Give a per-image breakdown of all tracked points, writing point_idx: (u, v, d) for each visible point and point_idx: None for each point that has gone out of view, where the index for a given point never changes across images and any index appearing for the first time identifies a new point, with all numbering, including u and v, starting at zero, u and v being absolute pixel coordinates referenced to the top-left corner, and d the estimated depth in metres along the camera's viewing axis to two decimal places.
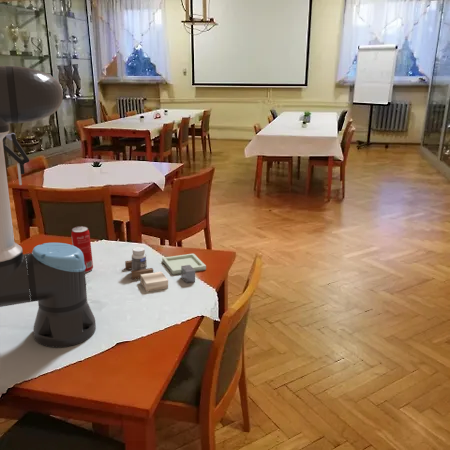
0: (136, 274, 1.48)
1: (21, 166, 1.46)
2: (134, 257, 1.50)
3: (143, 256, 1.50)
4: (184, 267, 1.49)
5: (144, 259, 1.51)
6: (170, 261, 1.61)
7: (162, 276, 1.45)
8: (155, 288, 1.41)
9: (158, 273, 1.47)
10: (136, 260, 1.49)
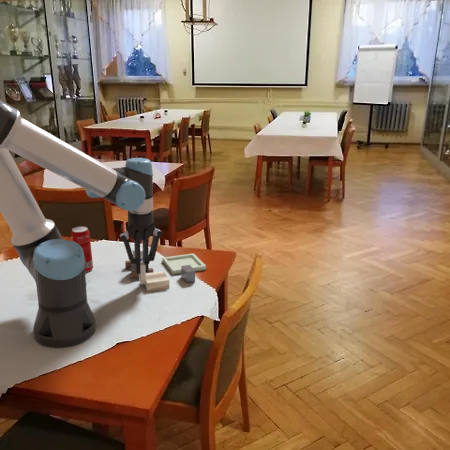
0: (136, 274, 1.48)
1: (146, 265, 1.41)
2: (134, 257, 1.50)
3: None
4: (184, 267, 1.49)
5: None
6: (170, 261, 1.61)
7: (164, 276, 1.45)
8: (156, 287, 1.42)
9: (160, 273, 1.47)
10: None
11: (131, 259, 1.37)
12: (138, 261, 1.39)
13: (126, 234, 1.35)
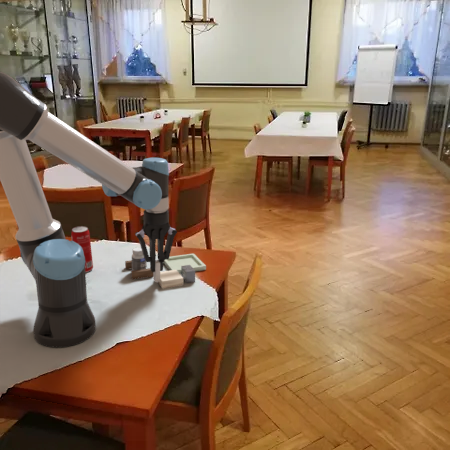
0: (136, 274, 1.48)
1: (160, 263, 1.43)
2: (134, 257, 1.50)
3: (143, 256, 1.50)
4: (184, 267, 1.49)
5: (144, 259, 1.51)
6: (170, 261, 1.61)
7: (177, 274, 1.47)
8: (171, 286, 1.44)
9: (173, 271, 1.49)
10: (136, 260, 1.49)
11: (146, 257, 1.39)
12: (153, 259, 1.41)
13: (142, 233, 1.37)
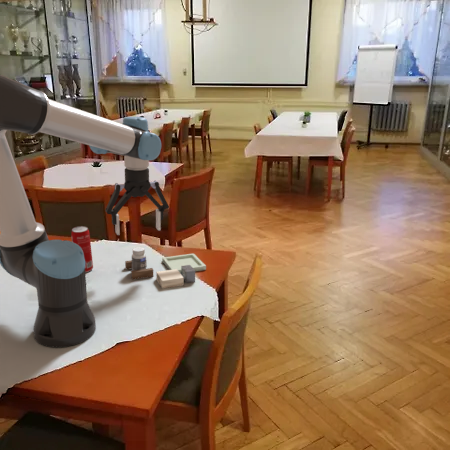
0: (136, 274, 1.48)
1: (161, 212, 1.49)
2: (134, 257, 1.50)
3: (143, 256, 1.50)
4: (184, 267, 1.49)
5: (144, 259, 1.51)
6: (170, 261, 1.61)
7: (178, 273, 1.47)
8: (171, 285, 1.44)
9: (174, 270, 1.49)
10: (136, 260, 1.49)
11: (109, 209, 1.41)
12: (115, 212, 1.42)
13: (122, 186, 1.41)
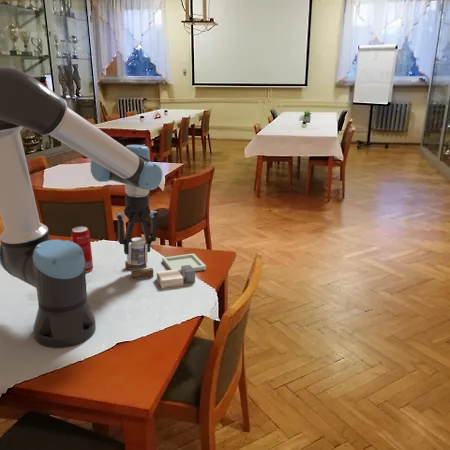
0: (136, 274, 1.48)
1: (148, 245, 1.51)
2: (132, 247, 1.48)
3: (142, 246, 1.49)
4: (184, 267, 1.49)
5: (142, 249, 1.49)
6: (170, 261, 1.61)
7: (178, 274, 1.47)
8: (170, 285, 1.44)
9: (174, 271, 1.49)
10: (134, 250, 1.48)
11: (120, 239, 1.46)
12: (127, 242, 1.47)
13: (122, 215, 1.44)
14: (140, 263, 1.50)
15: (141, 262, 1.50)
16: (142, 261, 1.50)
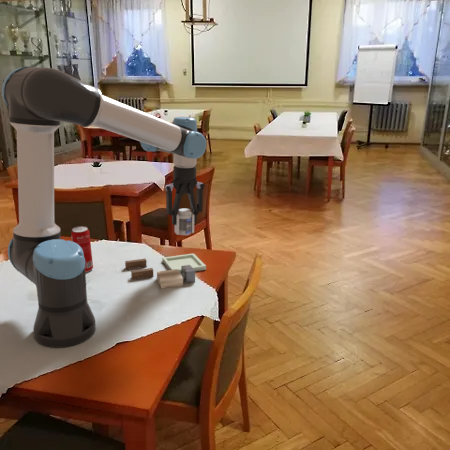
0: (136, 274, 1.48)
1: (194, 215, 1.55)
2: (180, 217, 1.52)
3: (189, 216, 1.53)
4: (184, 267, 1.49)
5: (190, 220, 1.53)
6: (170, 261, 1.61)
7: (178, 274, 1.47)
8: (170, 285, 1.44)
9: (174, 271, 1.49)
10: (182, 220, 1.52)
11: (169, 210, 1.50)
12: (175, 212, 1.51)
13: (171, 186, 1.48)
14: (187, 233, 1.54)
15: (188, 232, 1.54)
16: (189, 231, 1.55)
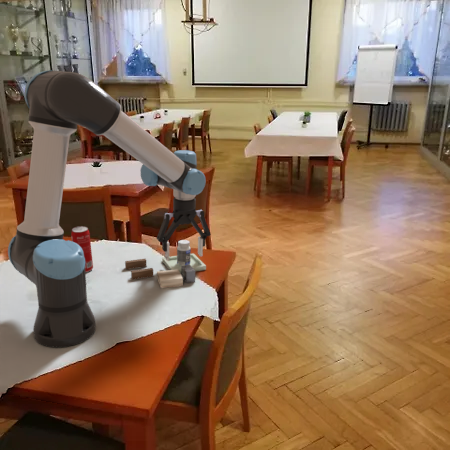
0: (136, 274, 1.48)
1: (203, 239, 1.59)
2: (180, 249, 1.56)
3: (188, 248, 1.57)
4: (184, 267, 1.49)
5: (189, 251, 1.57)
6: (170, 261, 1.61)
7: (178, 274, 1.47)
8: (170, 285, 1.44)
9: (174, 271, 1.49)
10: (182, 252, 1.56)
11: (161, 237, 1.51)
12: (166, 239, 1.53)
13: (171, 215, 1.51)
14: (187, 264, 1.58)
15: (188, 263, 1.58)
16: (189, 262, 1.58)
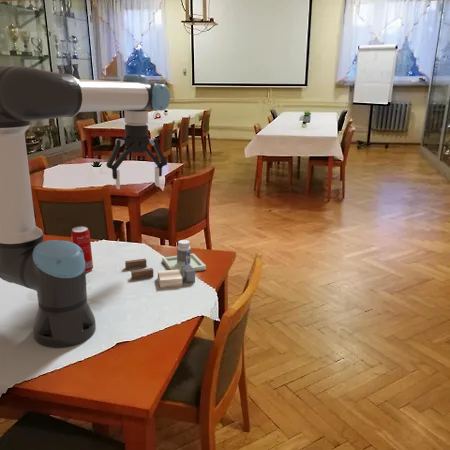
0: (136, 274, 1.48)
1: (159, 169, 1.56)
2: (180, 249, 1.56)
3: (188, 248, 1.57)
4: (184, 267, 1.49)
5: (189, 251, 1.57)
6: (170, 261, 1.61)
7: (178, 274, 1.47)
8: (169, 285, 1.44)
9: (175, 271, 1.49)
10: (182, 252, 1.56)
11: (110, 163, 1.48)
12: (116, 166, 1.49)
13: (122, 141, 1.48)
14: (187, 264, 1.58)
15: (188, 263, 1.58)
16: (189, 262, 1.58)
